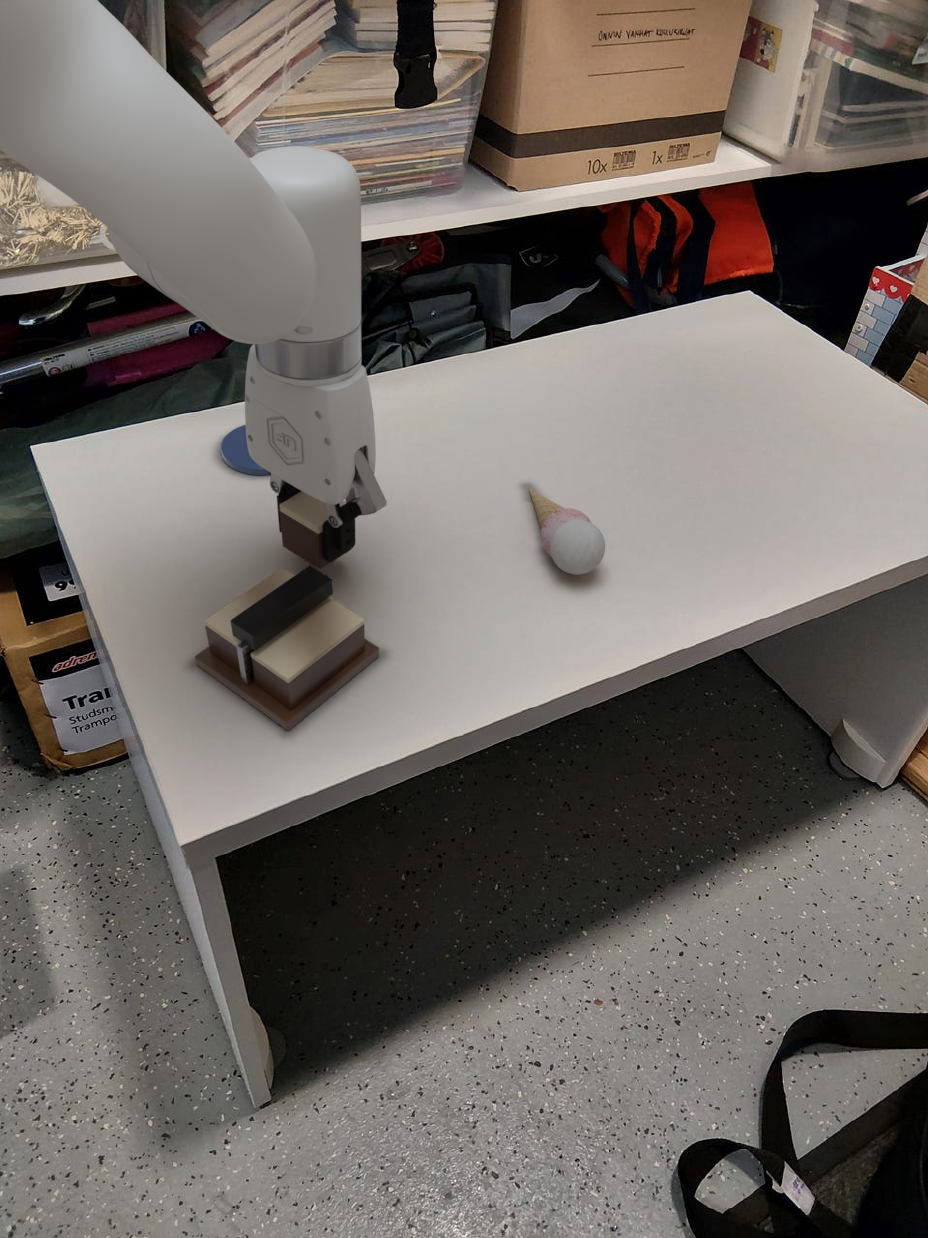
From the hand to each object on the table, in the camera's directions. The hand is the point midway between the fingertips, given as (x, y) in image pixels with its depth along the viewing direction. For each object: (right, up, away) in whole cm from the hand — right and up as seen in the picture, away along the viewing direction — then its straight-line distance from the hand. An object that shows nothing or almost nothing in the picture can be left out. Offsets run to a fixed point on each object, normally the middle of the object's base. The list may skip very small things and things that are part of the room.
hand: (317, 538), depth 79 cm
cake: (-1, -10, -6) cm, 12 cm away
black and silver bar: (-1, -9, -7) cm, 11 cm away
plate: (-8, +10, +14) cm, 18 cm away
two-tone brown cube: (0, -1, +1) cm, 1 cm away
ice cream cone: (+20, 0, +7) cm, 21 cm away
